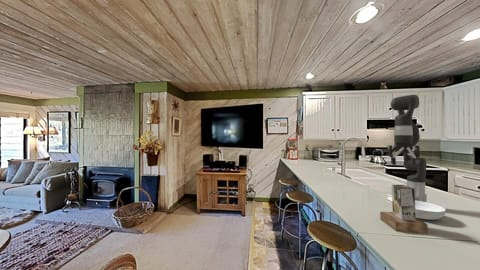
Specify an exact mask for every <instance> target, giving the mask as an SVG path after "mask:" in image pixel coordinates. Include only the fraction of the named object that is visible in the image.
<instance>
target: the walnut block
mask: <svg viewBox="0 0 480 270" xmlns="http://www.w3.org/2000/svg"><path fill="white" fill-rule="evenodd" d="M379 217H380V218H379V219H380V221H382V222H383V223H384V224H386V225H387V226H388V227H390V228H391V229H392V230H394V231H395V232H402V233H403V232H404V233H415V234H426V233H428V231H429V230H428V229H429V228H428V227H429V226H428V223H426V222H424V221H422V219H419V218H416V221H410V220H401V219H400V218H398V217H397V216H396V215H394V214H393V211H380V212H379Z"/></svg>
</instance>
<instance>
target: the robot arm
mask: <svg viewBox="0 0 480 270" xmlns="http://www.w3.org/2000/svg"><path fill="white" fill-rule="evenodd" d="M390 107H391V109H392V110H393V111H397V113H398V114H397V115H395V116H394V117H395V118H394V129H393V130H394V131H393V137H394V138H393V143H394V144H393V145H390V144H387V147H386V148H387V149H386V157H390V164H391V165H393V166H396V165H397V156H398V155H400V154H401V155H403V166H404V168H405V170H408V171H414V172H416V174H413V175H408V176H406V186H408V187H411V188H414V193H415V201H422V202H427V203H428V195H427V193H426V175H427V159H425V157H421V147H420V145H417V144H418V143H419V141H420V139H421V136H420V135H421V133H420V128H419V127H418V126H417V124H415V123H414V122H413V115H414V112H415V110H416V109H418V108H419V107H420V97H419V95H417V94H409V95H402V96H397V97H394V98H392V99H391V101H390ZM405 111H406V112H405Z"/></svg>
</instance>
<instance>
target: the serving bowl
mask: <svg viewBox="0 0 480 270" xmlns="http://www.w3.org/2000/svg"><path fill="white" fill-rule="evenodd" d="M446 212H447V211H446V208H444V207H443V206H440V205H438V204H435V203H432V202H431V203H430V202H428V201H427V202H422V201H415V216H416V218H417V219H419V220H425V221H426V220H430V221H431V220H432V221H434V220H440V219H442V218H444V216H445V215H446Z"/></svg>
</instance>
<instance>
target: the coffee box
mask: <svg viewBox="0 0 480 270" xmlns="http://www.w3.org/2000/svg"><path fill="white" fill-rule="evenodd" d="M390 189H391V201H392V202H391V203H392V212H393V214H394V215H396V216H397V217H398V218H400V219H401V220H410V221H416V216H415V193H414V188H411V187H408V186H407V184H406V185H405V184H391V188H390Z"/></svg>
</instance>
